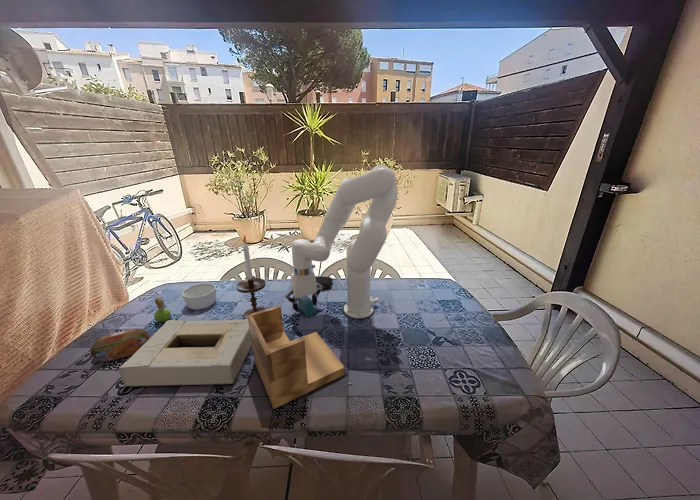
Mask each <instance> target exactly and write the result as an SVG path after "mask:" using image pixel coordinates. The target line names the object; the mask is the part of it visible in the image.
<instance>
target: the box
mask: <svg viewBox="0 0 700 500" xmlns="http://www.w3.org/2000/svg"><path fill="white" fill-rule="evenodd" d="M251 347H252V342H251V335H250V329H249V323H248V319H244V318H242V319H239V318H237V319H211V320H207V319H205V320H186V319H183V320H180V319H168V320H167V321H165V322H164V324H163V325H162V326H161V327H160V328H158V330H157V331H156V332H154V334H153V335H151V337H149V340H148V341H147V342H146V343H145V344H144V345H143V346H142V347H141V348H140V349H139V350H138V351H137V352H136V353H135V354H133V355H131V356H130V357H129V358H128V359H127V360H126V361H125V362H124V363H123V364H122V365H121V366H119V368H118V373H119V376H120V379H121V381H122V383H123V385H124V386H125V387H148V386H149V387H150V386H187V385H189V386H191V385H193V386H195V385H198V386H199V385H231V384H234V383H235V380H236V379H237V377H238V374H239V372H240V371H241V368H242V366H243V364H244V362H245V359H246V358H247V356H248V353H249V352H250V349H251Z"/></svg>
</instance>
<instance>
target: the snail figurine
mask: <svg viewBox="0 0 700 500" xmlns="http://www.w3.org/2000/svg"><path fill="white" fill-rule="evenodd" d="M163 298H164V296H161V297H155V298H154V303H155V305H156V308H157V310H156V311H155V312H154V314H153V318H154V320H155V321H156V322H158V323H166V321H168V320H170V318H171V311H170V310H169V309H168V308H165V307H166V306H165V300H164V299H163Z"/></svg>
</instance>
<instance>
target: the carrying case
mask: <svg viewBox="0 0 700 500" xmlns="http://www.w3.org/2000/svg"><path fill="white" fill-rule="evenodd" d="M315 278H316V283H318V284H320V285H322V286H323V288H322V290H323V289H325V290H326V289H329V288H330V287H332V284H333V282H334V279H333V278H332V277H331V276H322V275H321V276H320V275H319V276H318V275H315ZM317 289H318V287H317Z"/></svg>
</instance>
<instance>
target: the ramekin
mask: <svg viewBox="0 0 700 500" xmlns="http://www.w3.org/2000/svg"><path fill="white" fill-rule="evenodd" d="M181 297H182V298H183V300H184V302H185V305H186V307H187V308H188V309H190V310H195V311H198V310H204V309H207V308H209V307H211V306H213V305H214V303H216V300H217V287H216V285H215V284H214V283H210V282H201V283H196V284H192V285H190V286H188V287H186V288H185V289H184V290H183V291H182V292H181Z"/></svg>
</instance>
